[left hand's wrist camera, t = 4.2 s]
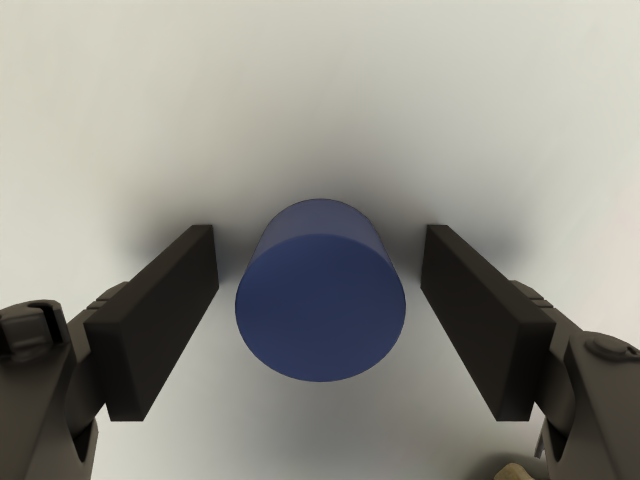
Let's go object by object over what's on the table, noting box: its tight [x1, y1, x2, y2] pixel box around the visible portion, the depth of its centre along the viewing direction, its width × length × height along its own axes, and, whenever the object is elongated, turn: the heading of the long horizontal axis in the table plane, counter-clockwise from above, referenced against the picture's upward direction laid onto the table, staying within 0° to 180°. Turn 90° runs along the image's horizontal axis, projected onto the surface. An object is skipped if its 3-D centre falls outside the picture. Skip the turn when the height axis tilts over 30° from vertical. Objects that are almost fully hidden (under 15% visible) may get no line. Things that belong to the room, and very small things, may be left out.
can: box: [235, 199, 406, 382], centre depth 12 cm, size 5×5×4 cm
